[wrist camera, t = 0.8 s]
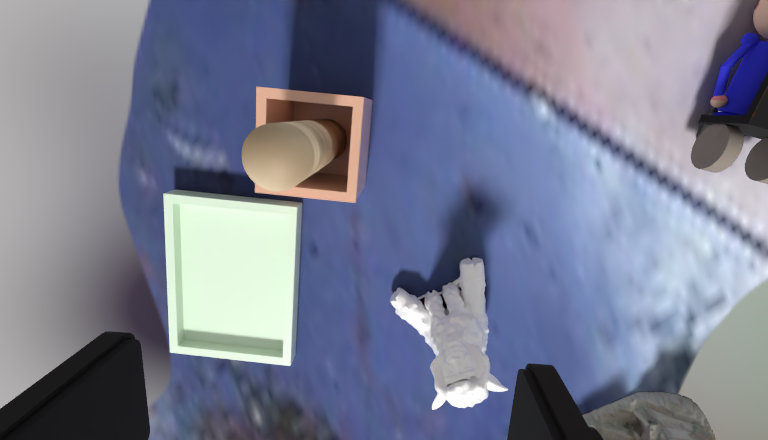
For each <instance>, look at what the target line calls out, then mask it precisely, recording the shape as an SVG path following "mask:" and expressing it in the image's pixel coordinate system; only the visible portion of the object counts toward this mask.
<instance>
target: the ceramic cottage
mask: <svg viewBox="0 0 768 440" xmlns="http://www.w3.org/2000/svg"><path fill="white" fill-rule="evenodd" d="M582 416H583V418H584V419H585V421H586V423H587V425H588V426H589V427H593V428H595V429H596V430H597V431H598V432H599V433H600V435H601V436H602V438H603V440H715V435H714V433H713V430H711V427H710V425H709V422H708V421H707V419H706V417H705V415H704V414H703V412H702V411H701V409H700V408H699V407H698V405H697V404H696V403H695V402H693V401H692V399H689V398H688V397H685V396H681V395H680V394H678V395H677V394H672V393H664V392H654V393H653V392H650V393H649V392H637V393H634V394H632V395H631V396H630V395H629V396H627V397H624V398H622V399H620V400H619V401H617V400H616V401H615V402H612V403H611V404H607V405H605V406H602V407H600V408H599V409H594V410H593V411H592V412H589V413H587V414H584V415H582Z"/></svg>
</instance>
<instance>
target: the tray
mask: <svg viewBox="0 0 768 440" xmlns="http://www.w3.org/2000/svg"><path fill="white" fill-rule="evenodd" d="M163 196H164V220H165V244H166V269H167V293H168V317H169V341H170V353H179V354H188V355H197V356H206V357H215V358H224V359H233V360H242V361H251V362H260V363H269V364H277V365H286V366H291V364H292V361H293V359H294V357H295V355H296V335H297V313H298V291H299V269H300V247H301V225H302V202H292V201H282V200H273V199H263V198H253V197H244V196H234V195H224V194H214V193H205V192H195V191H185V190H176V189H175V190H172V191H169V192H166V193H164V194H163Z"/></svg>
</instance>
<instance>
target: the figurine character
mask: <svg viewBox="0 0 768 440" xmlns="http://www.w3.org/2000/svg"><path fill="white" fill-rule="evenodd" d="M753 22H754V26H755V28H756V30H757V32H758V33H759V34H760V35H761V36H762V37H764V38H765V39H767V40H768V0H758V2H757V4H756V6H755V9H754V13H753ZM741 44H742V45H741V46H740V47H739V48H738V49H737V50H736V51H735V52H734V53H733V54H732V55H731V56H730V57H729V58H728V59H727V60H726V61H725V62H724V63H723V64H722V65H721V67H720V71H719V75H718V79H717V82H716V86H715V90H714V94H713V98H712V99H711V105H712V106H713V107H714V108H713V109H712V110H710V111H709V113H708V115H702V116H701V118H700V120H699V123H703V125H702V127H701V129H700V131H699V133H698V136H697V140H696V141H695V143H694V146H693V148H692V153H691V160H692V163H693V165H694V166H695V167H696V168H699V169H703V170H706V171H710V172H720V171H723V170H725V169H726V168H728V167H729V166H730V165H731V164H732V163H733V162H734V161H735V160H736V159H737V157H738V156H739V154H740V152H741V150H742V147H743V142H744V136H745V135H748V136H752V137H756V138H760V139H762V140H761V141H759V142H758V143H757V144H756V145H755V146H754V147H753V148H752V150H751V151H750V153H749V155H748V157H747V159H746V163H745V172H746V174H747V176H748V177H749V178H750V179H752V180H755V181H759V182H763V183H766V184H768V42H767V41H761V39H760V37H759V36H758V35H757V34H755V33H747V34H745V35H744V36H743V37H742V38H741ZM743 56H744V57H743ZM742 57H743V59H742V61H741V63H740V65H739V67H738V69H737V71H736V73H735V75H734V77H733V79H732V81H731V83H730V85H729V87H728V89H727V91H726V93H725V90H726V86H727V83H728V79H729V75H730V72H731V68H732V67H733V66H734V65H735V64H736V63H737V62H738V61H739V60H740V59H741V58H742ZM724 94H725V95H724ZM717 108H718V109H717ZM718 111H722V112H718Z"/></svg>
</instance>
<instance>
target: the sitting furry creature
mask: <svg viewBox="0 0 768 440" xmlns="http://www.w3.org/2000/svg"><path fill="white" fill-rule="evenodd" d="M485 286H486V283H485V274H484V264H483V260H482V259H480V258H472V260H471V259H469V258H466V259H463V260H461V262H460V278H458V279H456V280H455V281H453V282H452V283H451V282H449V283H448V284H447V285H444V286H443V288H442V291H441V292H439V293H438V292H437V291H436V290H432V293H430V292H429V291H428V292H427V293H426V294H425V295H422V296H420V297H418V298H417V297H416V296H415V295H410V294H409V293H408V292H406V291H405V290H403V289H402V288H400V287H399V288H397V290H396V292H394V293H393V295H392V296H391V298H390V302H391V304H392V305H393V306H394V307H395V308H396V311H395V312H396V313H397V314H398V315H399V316H400V317H401V318H402V319H404V320H406V321H407V322H408V323H409V324H411V325H412V326H413V327H414V328H416V329H417V330H418V332H419V333H420V334H421V335H423V336H424V337H425V341H426V343H428V344H429V345H430V346H431V347H432V349H433V351H434V353H435V354H436V358H435V359H434V360H433V361H432V363H431V365H430V369H431V370H432V373H433V376H434V378H435V390H436V391H437V396H436V398H435V400H434V402H433V404H432V409H437V408H439V407H440V406H441V405H442V404H443V403H444V402H445V401H446V400H447V401H448V402H449V403H450V404H451V405H452V406H455V407H458V408H460V407H462V408H465V407H467V406H470V407H473V406H474V405H475V404H476V403H481V402H482V401H483V400H484V399H486V398H487V397H488V394H489V393H488V390H490V391H495V392H502V391H507V390H509V389H507V388H505V387H504V386H503V385H502V384H501V383H500V382H499V381H498V380H497V379H496V378H495V377H494V376H493V375H492V374H490V373H489V371H490V363H489V358H488V357H487V355H485V351H486V345H487V343H488V341H487V339H488V334H487V333H488V332H489V329H488V327H487V326H488V317H487V314H486V313H485V303H486V299H485V296H484V292H485ZM459 287H461V289H462V290H461V296H460V290H459ZM440 294H442V296H443V297H444V300H445V302H446V305H447V309H445V308H444V307H443V300H442V297H441V296H440ZM423 297H425V299H424V300H425V302H424V305H423V304H422V302H421V301H420V300H419V299H421V298H423Z"/></svg>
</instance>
